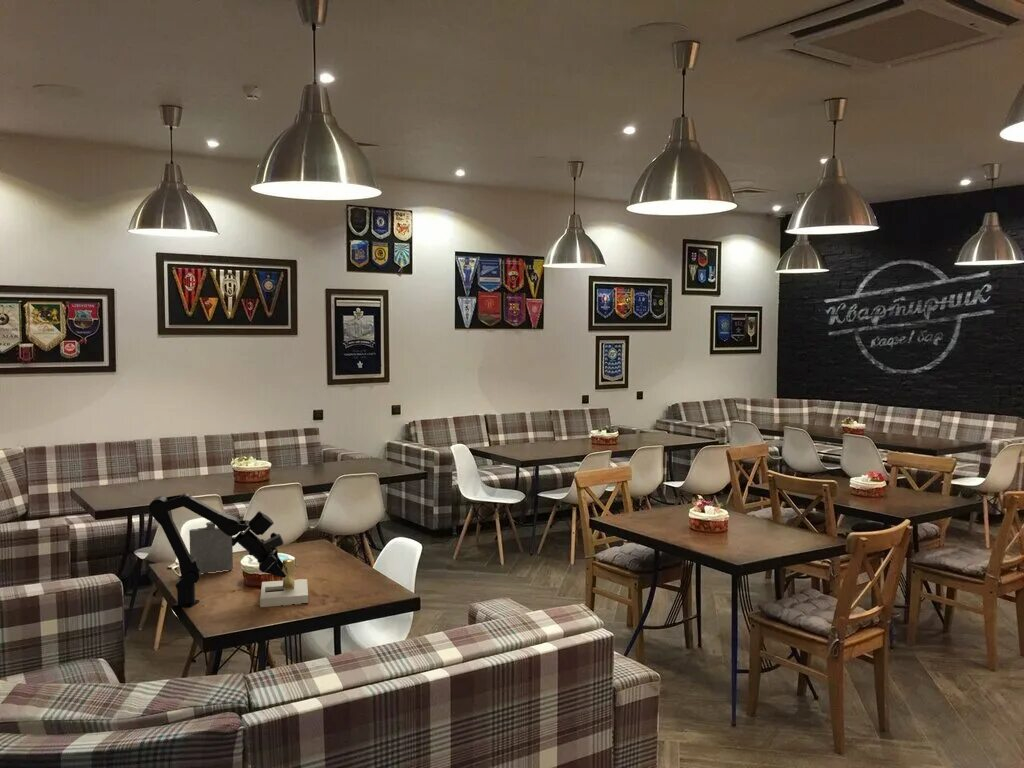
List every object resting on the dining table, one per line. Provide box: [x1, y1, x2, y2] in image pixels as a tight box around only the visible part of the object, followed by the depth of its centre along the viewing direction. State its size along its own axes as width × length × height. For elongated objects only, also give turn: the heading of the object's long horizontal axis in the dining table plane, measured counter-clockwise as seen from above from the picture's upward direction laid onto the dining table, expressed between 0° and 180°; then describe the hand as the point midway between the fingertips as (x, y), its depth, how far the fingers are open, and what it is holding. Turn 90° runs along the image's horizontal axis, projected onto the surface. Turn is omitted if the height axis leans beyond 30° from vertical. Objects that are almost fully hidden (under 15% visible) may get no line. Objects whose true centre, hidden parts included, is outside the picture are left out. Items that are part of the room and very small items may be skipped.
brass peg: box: [282, 558, 295, 590], centre depth 298 cm, size 5×5×13 cm
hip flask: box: [188, 521, 234, 573], centre depth 328 cm, size 16×4×20 cm, turn 114°
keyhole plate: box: [259, 578, 309, 608], centre depth 298 cm, size 16×20×3 cm
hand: (285, 573), depth 298 cm, fingers open, 9 cm apart
